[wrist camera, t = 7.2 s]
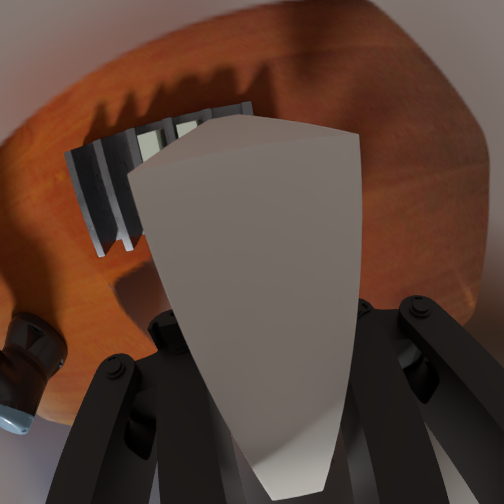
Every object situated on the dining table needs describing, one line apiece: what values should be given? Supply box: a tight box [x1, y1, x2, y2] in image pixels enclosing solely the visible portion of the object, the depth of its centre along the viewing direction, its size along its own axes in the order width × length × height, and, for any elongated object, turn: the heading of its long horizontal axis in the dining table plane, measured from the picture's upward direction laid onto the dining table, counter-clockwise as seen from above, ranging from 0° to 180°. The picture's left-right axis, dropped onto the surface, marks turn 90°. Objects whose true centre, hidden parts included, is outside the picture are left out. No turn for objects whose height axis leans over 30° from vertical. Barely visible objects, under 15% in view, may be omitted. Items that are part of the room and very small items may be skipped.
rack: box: [64, 101, 254, 257], centre depth 32 cm, size 23×14×6 cm, turn 99°
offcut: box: [137, 128, 168, 162], centre depth 31 cm, size 2×12×6 cm, turn 9°
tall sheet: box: [127, 114, 362, 501], centre depth 13 cm, size 2×12×18 cm, turn 9°
